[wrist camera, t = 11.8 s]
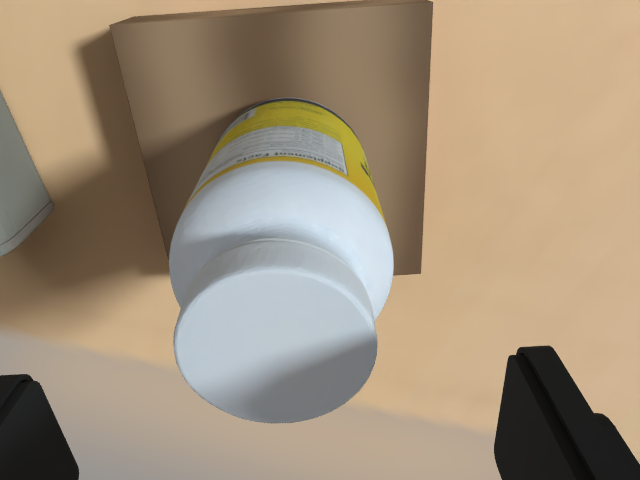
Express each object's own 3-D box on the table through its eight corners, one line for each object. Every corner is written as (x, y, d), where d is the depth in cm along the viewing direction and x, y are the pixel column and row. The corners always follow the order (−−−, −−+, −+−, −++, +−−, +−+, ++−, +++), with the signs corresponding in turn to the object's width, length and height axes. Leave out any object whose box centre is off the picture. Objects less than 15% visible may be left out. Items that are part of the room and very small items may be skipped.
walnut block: (417, -4, 21) (432, 2, 18) (409, 242, 27) (420, 273, 24) (133, 16, 21) (109, 25, 18) (188, 257, 27) (176, 289, 24)
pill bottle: (318, 255, 24) (327, 478, 14) (190, 195, 22) (92, 398, 12) (394, 139, 21) (477, 310, 11) (255, 60, 19) (198, 176, 9)
